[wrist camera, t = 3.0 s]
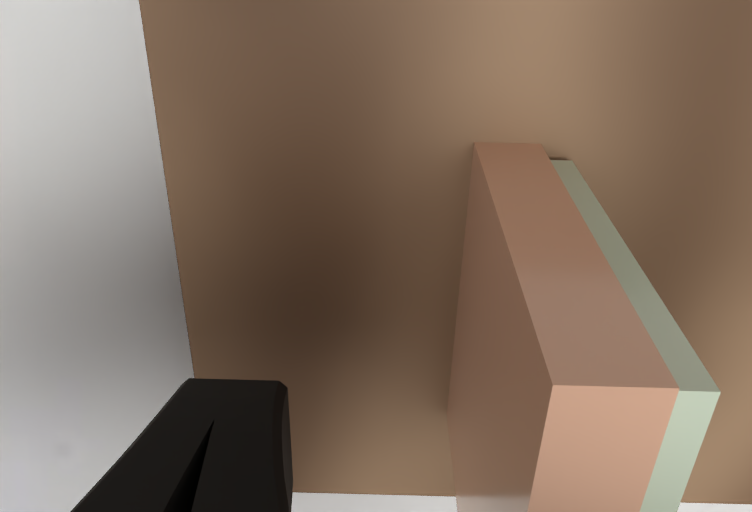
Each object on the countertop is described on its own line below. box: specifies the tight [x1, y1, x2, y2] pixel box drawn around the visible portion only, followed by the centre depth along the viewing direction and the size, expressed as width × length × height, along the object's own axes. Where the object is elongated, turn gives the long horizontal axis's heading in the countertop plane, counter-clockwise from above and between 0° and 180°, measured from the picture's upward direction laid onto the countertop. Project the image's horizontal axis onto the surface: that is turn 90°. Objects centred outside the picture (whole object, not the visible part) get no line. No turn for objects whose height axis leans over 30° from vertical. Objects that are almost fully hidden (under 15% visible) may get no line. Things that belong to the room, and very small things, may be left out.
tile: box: [447, 142, 721, 512], centre depth 10 cm, size 2×6×6 cm, turn 179°
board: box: [139, 0, 752, 504], centre depth 13 cm, size 16×11×1 cm
